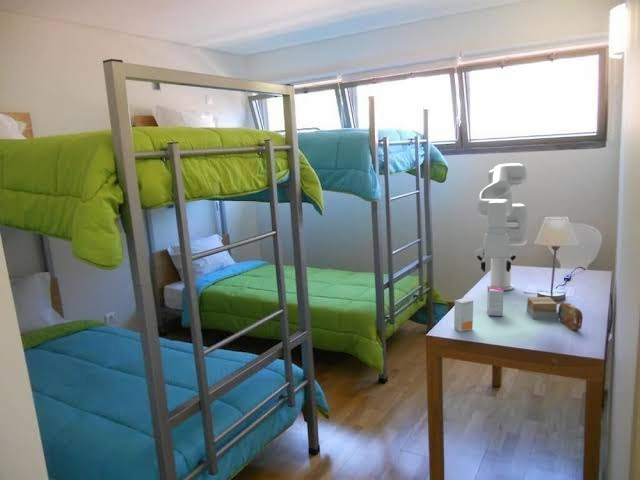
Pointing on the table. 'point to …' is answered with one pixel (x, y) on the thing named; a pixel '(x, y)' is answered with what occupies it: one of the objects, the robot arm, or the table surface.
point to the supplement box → (495, 302)
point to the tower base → (543, 314)
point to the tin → (570, 316)
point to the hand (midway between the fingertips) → (495, 271)
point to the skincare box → (463, 314)
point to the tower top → (541, 304)
